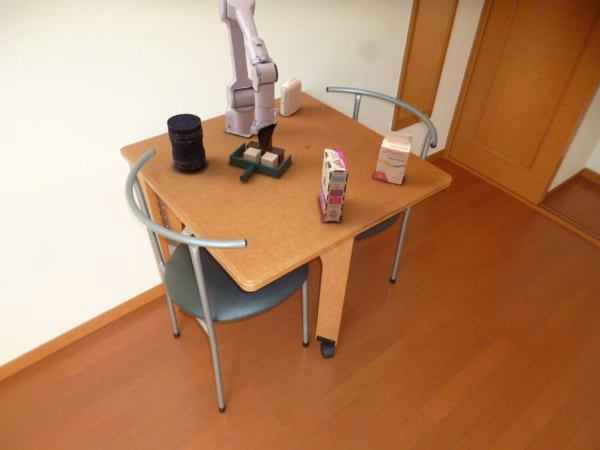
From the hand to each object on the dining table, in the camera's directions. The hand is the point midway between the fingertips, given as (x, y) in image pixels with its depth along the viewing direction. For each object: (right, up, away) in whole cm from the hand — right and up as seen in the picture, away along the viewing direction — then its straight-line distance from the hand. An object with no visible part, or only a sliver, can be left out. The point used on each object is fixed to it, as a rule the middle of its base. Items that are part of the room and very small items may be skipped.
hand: (265, 144), depth 132 cm
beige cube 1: (-4, -5, +1) cm, 7 cm away
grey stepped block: (0, -3, +3) cm, 4 cm away
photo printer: (+7, +19, +30) cm, 36 cm away
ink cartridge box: (+39, -11, -2) cm, 40 cm away
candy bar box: (+19, -21, -15) cm, 32 cm away
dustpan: (-3, -8, -1) cm, 9 cm away
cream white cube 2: (+1, -7, 0) cm, 7 cm away
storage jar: (-23, -7, -1) cm, 24 cm away
